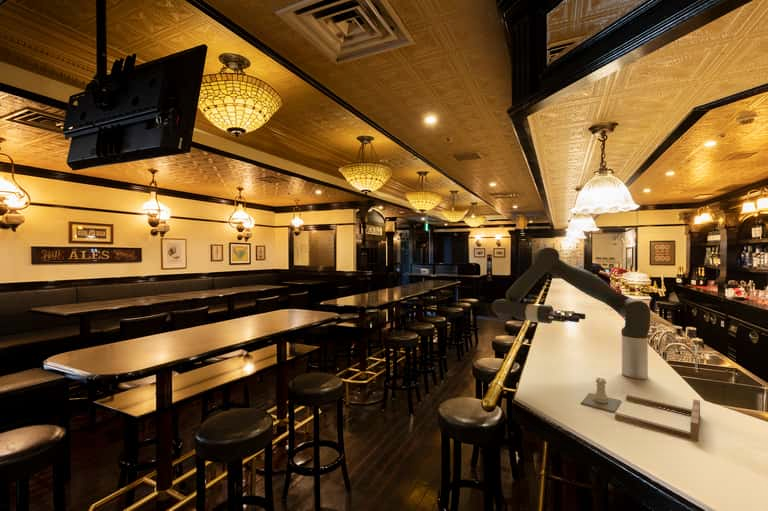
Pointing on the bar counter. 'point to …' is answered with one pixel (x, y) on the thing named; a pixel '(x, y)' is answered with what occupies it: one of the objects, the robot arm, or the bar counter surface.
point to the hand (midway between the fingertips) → (582, 318)
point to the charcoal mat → (609, 406)
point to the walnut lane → (667, 429)
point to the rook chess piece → (601, 391)
